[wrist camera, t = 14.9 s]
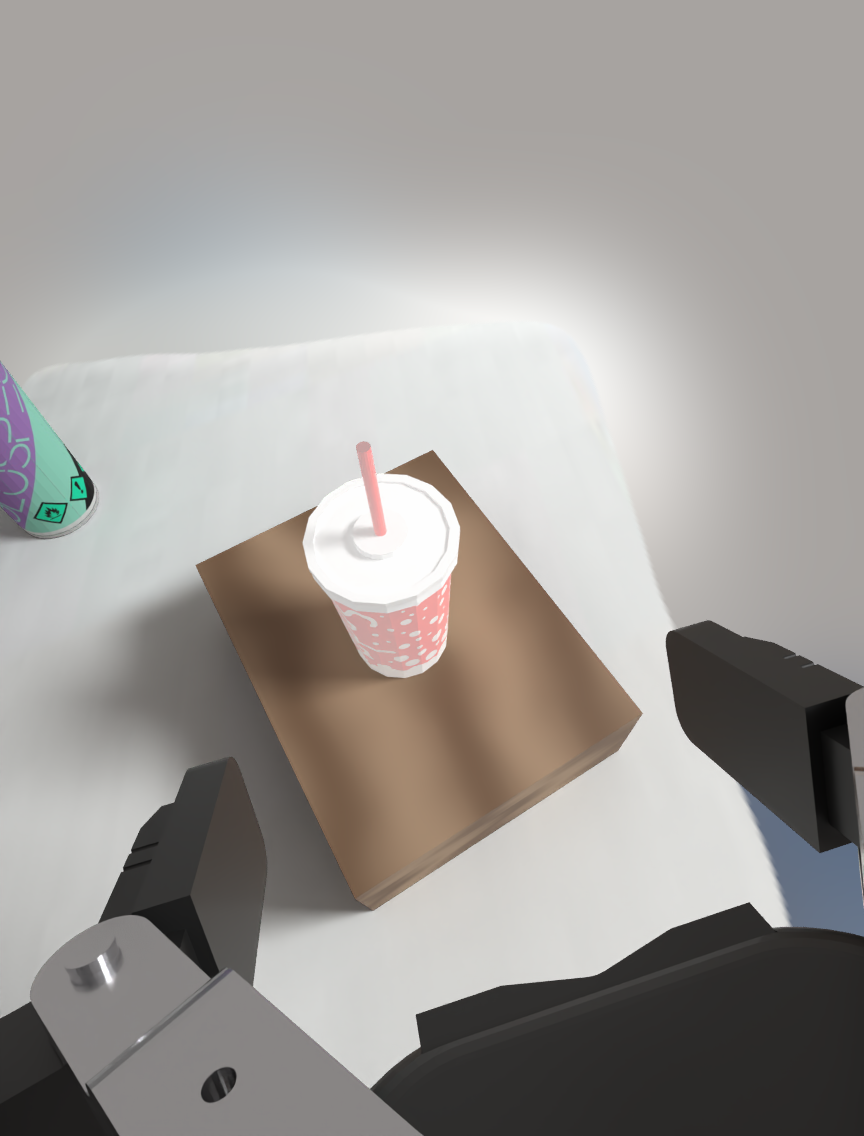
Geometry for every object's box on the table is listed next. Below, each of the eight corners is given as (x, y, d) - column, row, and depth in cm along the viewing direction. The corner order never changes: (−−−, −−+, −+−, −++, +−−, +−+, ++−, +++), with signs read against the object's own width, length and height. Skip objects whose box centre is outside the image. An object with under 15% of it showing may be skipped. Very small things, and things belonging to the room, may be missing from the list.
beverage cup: (322, 613, 34) (243, 421, 22) (428, 564, 36) (406, 357, 24) (372, 715, 31) (311, 556, 20) (485, 657, 33) (493, 474, 21)
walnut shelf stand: (373, 910, 33) (354, 898, 27) (229, 615, 41) (195, 565, 36) (618, 750, 36) (642, 713, 31) (437, 509, 45) (432, 449, 40)
